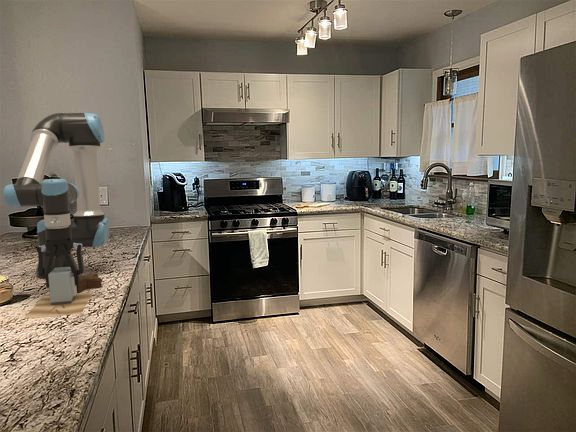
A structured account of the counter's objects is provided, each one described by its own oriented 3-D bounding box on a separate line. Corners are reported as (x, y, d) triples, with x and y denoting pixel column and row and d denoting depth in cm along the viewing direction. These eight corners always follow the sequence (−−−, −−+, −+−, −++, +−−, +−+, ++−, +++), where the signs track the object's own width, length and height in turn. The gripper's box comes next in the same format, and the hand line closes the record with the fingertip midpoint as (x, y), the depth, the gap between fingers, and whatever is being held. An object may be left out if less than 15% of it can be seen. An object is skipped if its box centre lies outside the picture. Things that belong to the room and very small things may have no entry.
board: (43, 297, 156) (43, 296, 156) (93, 293, 160) (93, 292, 160) (23, 320, 135) (22, 318, 135) (81, 315, 139) (81, 313, 139)
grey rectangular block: (57, 296, 155) (55, 267, 154) (76, 294, 157) (74, 266, 155) (50, 304, 147) (48, 274, 145) (71, 303, 148) (68, 273, 147)
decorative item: (68, 286, 156) (49, 273, 165) (68, 302, 157) (49, 289, 166) (111, 276, 168) (90, 265, 177) (111, 291, 169) (90, 279, 178)
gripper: (22, 230, 142) (28, 301, 146) (87, 227, 147) (92, 296, 150) (29, 226, 149) (35, 294, 153) (91, 223, 154) (96, 289, 157)
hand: (63, 295), depth 151 cm, fingers closed on grey rectangular block, 6 cm apart
